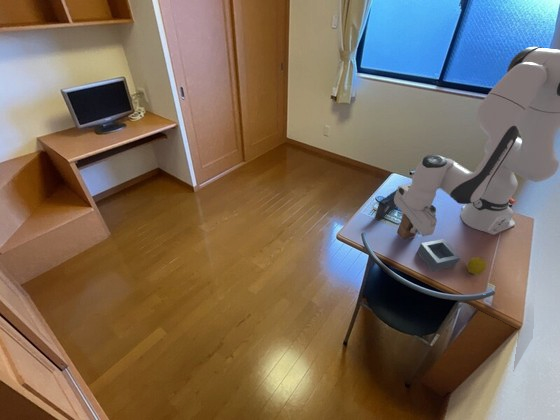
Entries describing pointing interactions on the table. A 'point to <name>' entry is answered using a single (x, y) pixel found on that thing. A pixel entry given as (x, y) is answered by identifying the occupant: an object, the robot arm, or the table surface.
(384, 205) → the vhs cassette tape
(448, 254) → the docking socket
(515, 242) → the table surface
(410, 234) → the walnut spigot peg
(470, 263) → the lemon
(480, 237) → the table surface
